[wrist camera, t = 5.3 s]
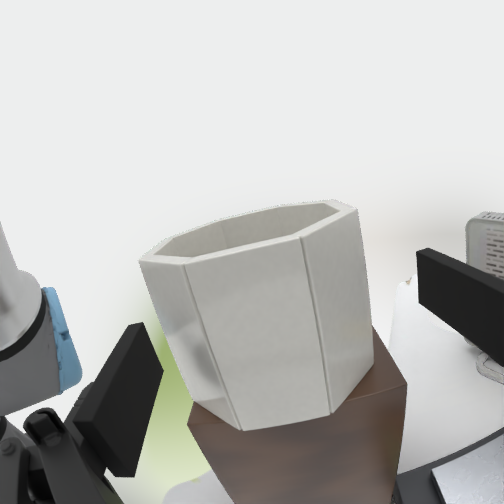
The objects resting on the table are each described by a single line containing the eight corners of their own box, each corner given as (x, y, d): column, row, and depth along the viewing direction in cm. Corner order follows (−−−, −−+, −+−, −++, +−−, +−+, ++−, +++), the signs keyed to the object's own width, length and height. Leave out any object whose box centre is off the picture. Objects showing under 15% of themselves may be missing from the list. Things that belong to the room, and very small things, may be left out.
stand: (258, 537, 19) (186, 424, 15) (261, 452, 31) (216, 325, 26) (387, 515, 18) (408, 383, 14) (364, 433, 30) (354, 296, 25)
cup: (181, 437, 14) (109, 280, 12) (208, 337, 25) (175, 230, 22) (393, 397, 13) (384, 218, 11) (343, 308, 24) (324, 195, 22)
